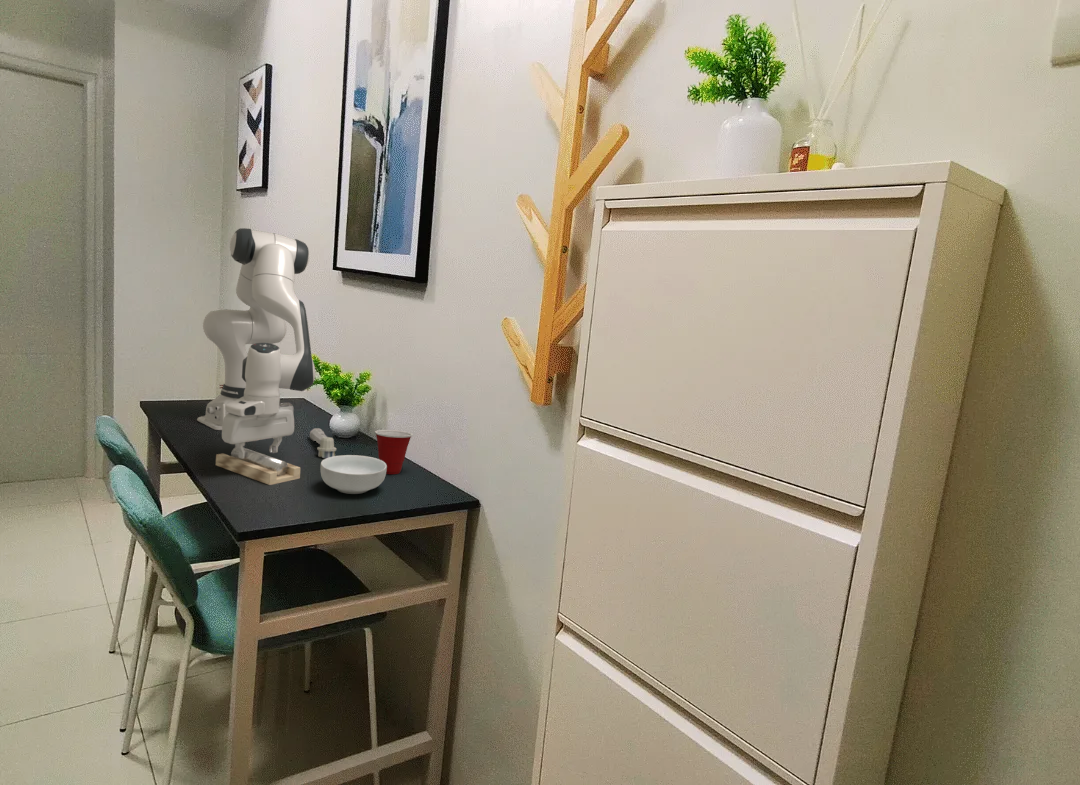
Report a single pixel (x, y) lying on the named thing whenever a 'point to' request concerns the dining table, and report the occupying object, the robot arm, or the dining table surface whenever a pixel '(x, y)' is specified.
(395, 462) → the plastic cup
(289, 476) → the v block
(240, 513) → the dining table surface
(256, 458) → the axle
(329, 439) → the toothbrush head
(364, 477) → the cereal bowl
